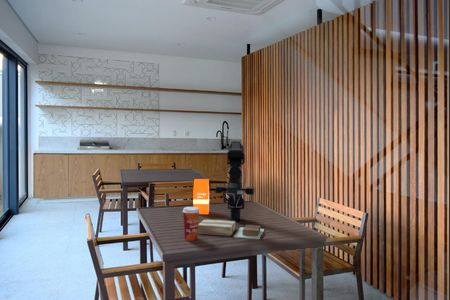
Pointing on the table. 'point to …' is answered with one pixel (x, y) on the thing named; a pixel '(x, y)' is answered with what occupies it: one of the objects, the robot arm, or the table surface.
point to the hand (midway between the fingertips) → (235, 207)
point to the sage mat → (240, 235)
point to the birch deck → (216, 227)
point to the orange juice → (201, 195)
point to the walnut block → (251, 230)
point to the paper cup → (191, 223)
